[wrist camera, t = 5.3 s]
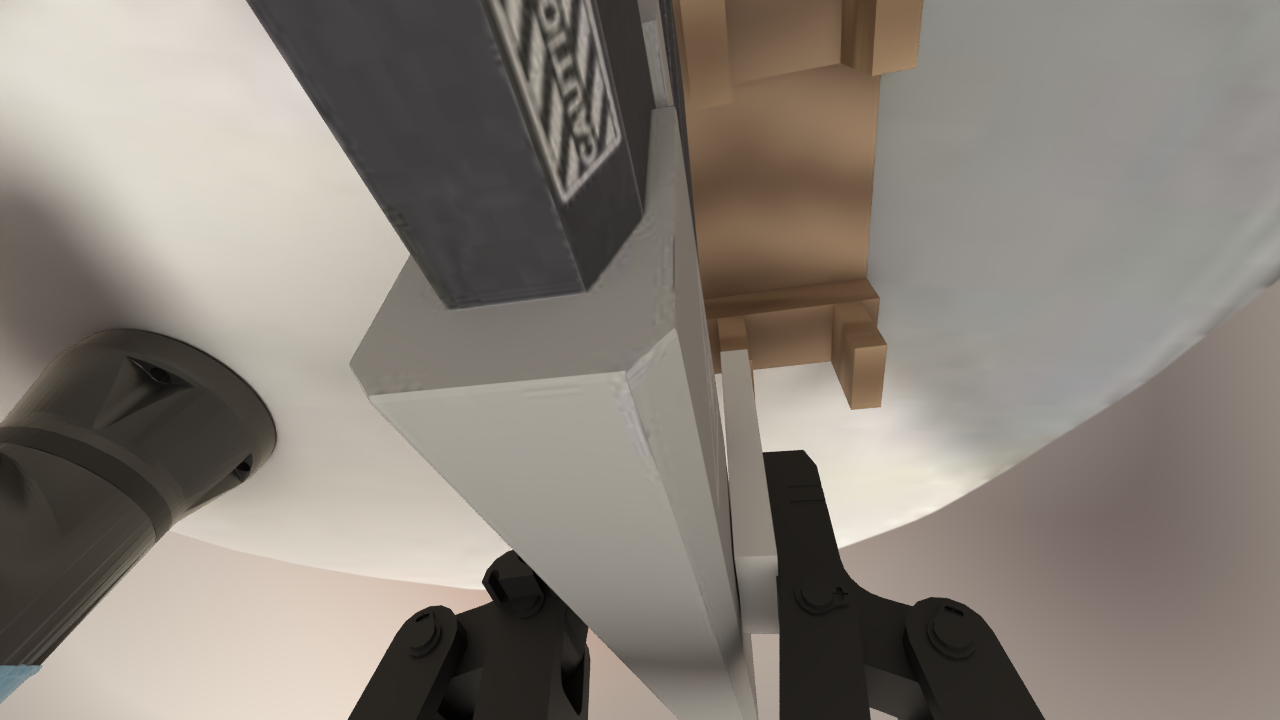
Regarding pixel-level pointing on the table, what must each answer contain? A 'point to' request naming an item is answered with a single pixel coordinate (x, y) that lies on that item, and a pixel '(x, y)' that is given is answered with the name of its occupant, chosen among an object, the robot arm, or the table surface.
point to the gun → (548, 302)
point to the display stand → (790, 174)
